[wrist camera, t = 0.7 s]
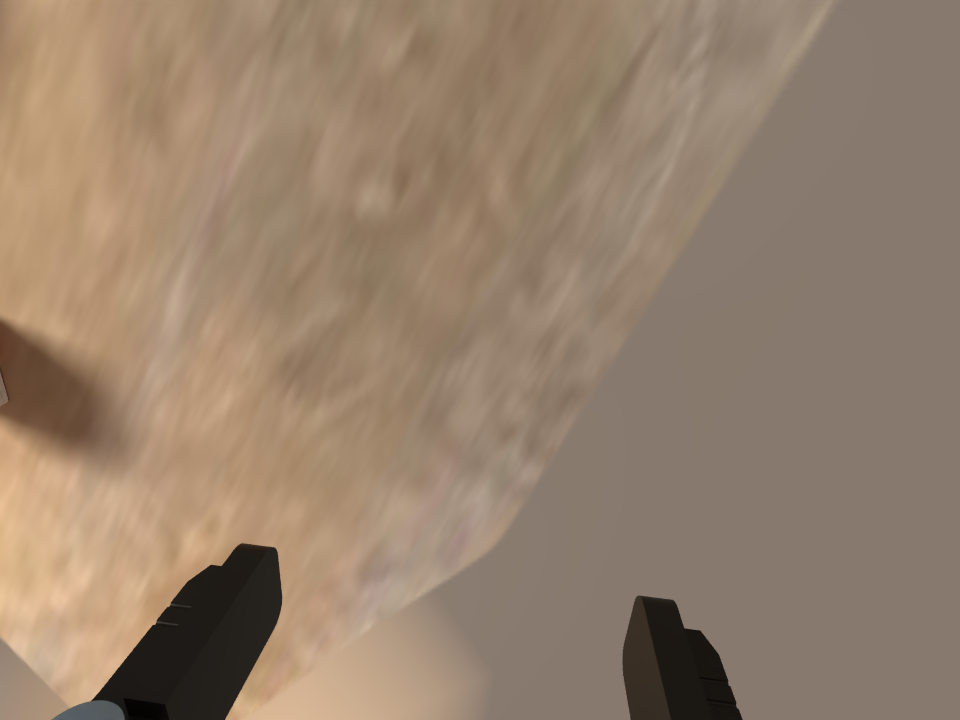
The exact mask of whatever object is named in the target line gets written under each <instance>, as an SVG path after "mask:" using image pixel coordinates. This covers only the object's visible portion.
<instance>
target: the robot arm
mask: <svg viewBox="0 0 960 720" xmlns="http://www.w3.org/2000/svg"><path fill="white" fill-rule="evenodd" d="M281 606H282V590H281V580H280V571H279V561H278V553H277V550H276V548H274V547H267V546H259V545H251V544H243V543H242V544H240V545H238V546H237V547H236V548H235V549H234V550H233V552H232V553H231V555H230V556H229V557H228V559H227V560H226V561H225V563H224V564H223V565H222V566H216V565H210V566H209V567H207V568H206V569H205V570H203V571H202V572H200V573H199V574H198V575H196V576H195V577H193V578H192V579H191V580H189V581H188V582H187V583H186V584H185V586H184V587H183V588H182V589H181V591H180V592H179V593H178V594H177V596H176V597H175V598H174V599H173V601H172V602H171V605H170V607H167V608H166V609H165V611H164V612H163V613H162V614H161V616H160V617H159V618H158V619H157V622H156V624H155V625H153V626H152V627H151V628H150V629H149V631H148V632H147V633H146V634H145V636H144V637H143V638H142V639H141V641H140V642H139V643H138V644H137V646H136V647H135V648H134V649H133V651H132V652H131V653H130V654H129V656H128V657H127V658H126V659H125V661H124V662H123V663H122V664H121V666H120V667H119V668H118V669H117V671H116V672H115V673H114V674H113V676H112V677H111V678H110V679H109V681H108V682H107V683H106V684H105V686H104V687H103V688H102V689H101V691H100V692H99V693H98V694H97V695H96V696H95V697H94V699H92V700H91V701H90V702H86V703H82V704H79V705H77V706H74V707H72V708H70V709H68V710H66V711H64V712H63V713H61V714H59V715H58V716H56V717H55V718H53V719H52V720H225V718H226V717H227V715H228V713H229V711H230V709H231V707H232V706H233V704H234V702H235V700H236V698H237V696H238V694H239V693H240V691H241V689H242V687H243V685H244V683H245V682H246V680H247V678H248V676H249V674H250V672H251V670H252V669H253V667H254V665H255V663H256V661H257V659H258V658H259V656H260V654H261V652H262V650H263V648H264V646H265V645H266V643H267V641H268V639H269V637H270V635H271V634H272V632H273V630H274V628H275V626H276V624H277V621H278V618H279V615H280V611H281ZM623 676H624V682H625V688H626V694H627V700H628V706H629V712H630V718H631V720H742V717H741V714H740V712H739V709H737V707H736V701H735V698H734V695H733V692H732V690H731V687H730V686H729V685H728V679H727V676H726V673H725V670H724V668H723V665H722V662H721V659H720V657H719V654H718V653H717V652H716V650H715V649H714V648H713V647H712V645H711V644H710V643H709V641H708V640H707V639H706V637H705V636H704V635H703V634H702V632H701V631H699V630H691V629H684V626H683V623H682V620H681V617H680V614H679V610H678V607H677V605H676V603H675V601H673V600H669V599H661V598H653V597H645V596H637V597H636V599H635V602H634V606H633V610H632V614H631V618H630V622H629V626H628V630H627V634H626V638H625V642H624V647H623Z"/></svg>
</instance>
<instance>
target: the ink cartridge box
mask: <svg viewBox="0 0 960 720" xmlns="http://www.w3.org/2000/svg"><path fill="white" fill-rule="evenodd" d="M7 402H8V397H7V393H6V390H5V386H4V383H3V379H2V376H1V372H0V406H2V405H4V404H6V403H7Z"/></svg>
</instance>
